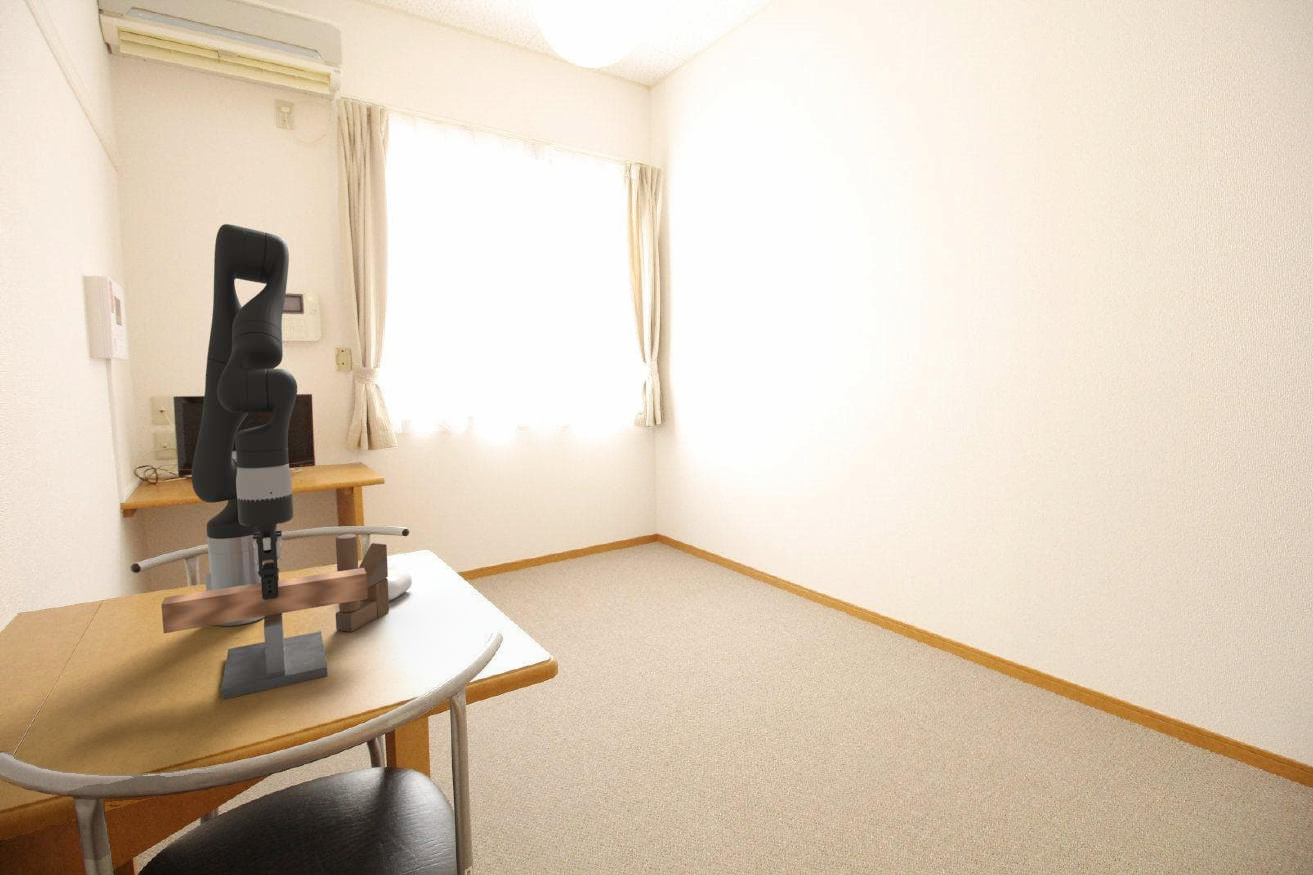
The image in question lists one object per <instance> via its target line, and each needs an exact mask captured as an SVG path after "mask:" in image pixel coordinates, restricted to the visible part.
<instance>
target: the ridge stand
mask: <svg viewBox="0 0 1313 875" xmlns="http://www.w3.org/2000/svg"><path fill="white" fill-rule="evenodd" d="M263 618H264V619H263V620H264V621H263V636H264V642H263V641H262V642H257V643H252V644H246V645H241V646H237V647H231V648H228V649H227V655H226V660H225V666H224V672H223V678H222V683H221V689H220V692H221V693H220V694H221V700H226V699H230V698H234V697H238V696H242V695H243V696H244V695H249V694H253V693H257V692H261V691H266V690H269V689H271V690H272V689H274V688H280V687H284V686H287V685H288V686H289V685H293V684H297V683H302V682H305V681H310V680H315V679H318V678H323V677H328V673H329V672H328V663H327V658H326V657H327V656H326V652H325V646H324V639H323V634H322V630H321V631H316V632H315V631H314V632H310V633H305V634H301V635H299V634H298V635H294V636H290V637H285V635H284V634H285V633H284V632H285V631H284V620H283V619H284V616H283V613H280V614H275V615H269V616H264V617H263Z"/></svg>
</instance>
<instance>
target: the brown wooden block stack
mask: <svg viewBox="0 0 1313 875" xmlns="http://www.w3.org/2000/svg"><path fill="white" fill-rule="evenodd" d="M387 546H388V545H387V544H386V543H378V542H377V543H376V542H375V543H374V542H372V543H371V544H370V545H369V548H368V549H367V551H366V553H365V555H364V557H363V559H362V561H361V563H360V564H359V556H358V554H359V552H358V538H357V535H356V534H354V533H348V534H347V533H345V534H341V535H338V536H336V537H335V550H336V551H335V552H336V568H337V569H336V570H337V571H336V572H339V571H345V570H352V569H359V568H364V569H365V571H366V574H367V595H368V598H367V599H363V601H360V600H356V601H350V602H344V603H338V607H339V608H338V611H336V612H335V626H336V627H335V628H336V631H341V632H349V633H352V632H354V631H356V630H358V629H359V628H361V627H364V626H365V625H367V624H368V623H371V622H372V621H374V620H377V618H380V617H382V616H383V615H385V614H387V613H388V612H390V601H389V598H388V579H387V578H388V569H389V568H388V550H387V548H388V547H387Z"/></svg>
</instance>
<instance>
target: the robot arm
mask: <svg viewBox="0 0 1313 875" xmlns="http://www.w3.org/2000/svg"><path fill="white" fill-rule="evenodd" d="M216 233H217V234H216V237H215V244H214V260H213V261H214V262H213V266H214V267H213V301H212V302H213V304H212V305H213V306H212V315H211V316H212V318H211V327H210V334H209V341H208V348H207V356H206V366H205V367H206V369H205V386H204V398H203V404H202V414H201V422H200V426H199V431H198V437H197V441H196V445H195V451H194V455H193V459H192V466H191V483H192V484H191V485H192V488H193V491H194V493H195V495H196V496H197V497H198V499H200V501H202V502H205V503H209V504H212V503H214V504H215V503H221V502H226V501H227V503H226V506H225V507H224V508H223V509H222V510H221V511H220V512H219V513H217V514H216V515H215V516H214V517H212V518H210V519H209V520H208V521H207V523H206V538H207V549H208V550H207V551H208V552H207V553H208V563H209V566H208V567H209V572H208V573H206V574H205V577H204V579H205V580H204V581H205V591H210V590H217V589H224V588H231V587H237V586H244V585H251V584H258V583H261V586H262V598H263V599H264V600H268V599H275V598H277V597H278V596H279V590H278V580H279V573H280V568H279V562H281V560H282V544H283V535H282V534H283V532H282V529H277V525H278V524H285V523H288V522H289V521H291V520H292V519H293V517H294V503H293V502H294V500H293V487H292V484H293V483H292V475H291V470H290V465H289V464H290V463H289V447H288V444H289V443H288V440H289V438H288V436H289V427H290V423H291V422H290V421H291V417H292V414H293V410H294V406H295V403H296V399H297V395H298V383H297V380H296V378H295V377H294V375H293V374H292V372H290V371H288V370H286V369H283V368H277V367H278V366H279V365H280V364H281V363H282V361H283V356H284V355H283V354H284V353H283V329H282V328H283V327H282V326H283V324H282V323H283V321H282V320H283V314H284V313H283V312H284V307H285V301H286V300H285V299H286V292H287V285H288V276H289V275H288V274H289V265H290V264H289V262H290V258H289V257H290V256H289V254H290V253H289V247H288V243H287V242H286V240H285V239H284V238H283V237H281V236H278V235H277V234H273V233H270V232H265V231H261V230H257V229H254V228H253V229H252V228H247V227H243V226H239V225H235V224H228V223H224V224H222V225H221V226H220V227H219V229H218V230H217V232H216ZM237 279H238V280H242V281H248V282H253V283H258V284H265V286H264V287H263V288H262V289H261V291H259V292H258V293H257V294H256V295H255V296H254V297H252V298H251V299H250V300H248V302H246V303H245V304H244V305H243V306H242V305H241V303H240V300H239V296H238V294H237V292H236V285H235V281H236V280H237ZM260 413H262V414H268V413H271V414H272V417H271V419H270V420H269V422H267V423H266V424H263V425H259V426H255V427H254V426H253V427H249V428H245V429H242V430H239V428H240V427H241V424H242V423H243V421H244V420H245V419H246V417H247V416H248V415H249V414H260ZM238 430H239V431H238ZM234 446H235V450H234V449H233V448H234ZM263 618H264V616H263V617H257V618H251V619H245V620H240V621H234V622H228V623H222V624H216V625H217V626H221V627H222V626H225V627H229V626H230V627H231V626H239V625H245V624H249V623H252V622H256V621H259V620H261V619H263Z"/></svg>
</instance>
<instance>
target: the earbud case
mask: <svg viewBox="0 0 1313 875" xmlns="http://www.w3.org/2000/svg"><path fill="white" fill-rule="evenodd" d="M387 579H388V598H389V602H390V601H393V600H395V599H397V598H399V596H401V595H402V594H404V593H405V592H407V591H408V590H409V589H410V588H411V586H412V583H413V582H412V581H413V580H412V575H410V573H409V572H407V571H405V570H403V569H402V570H401V569H393V568H391V569H389V568H388V578H387ZM362 601H363V599H362V600H360V602H362Z"/></svg>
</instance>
